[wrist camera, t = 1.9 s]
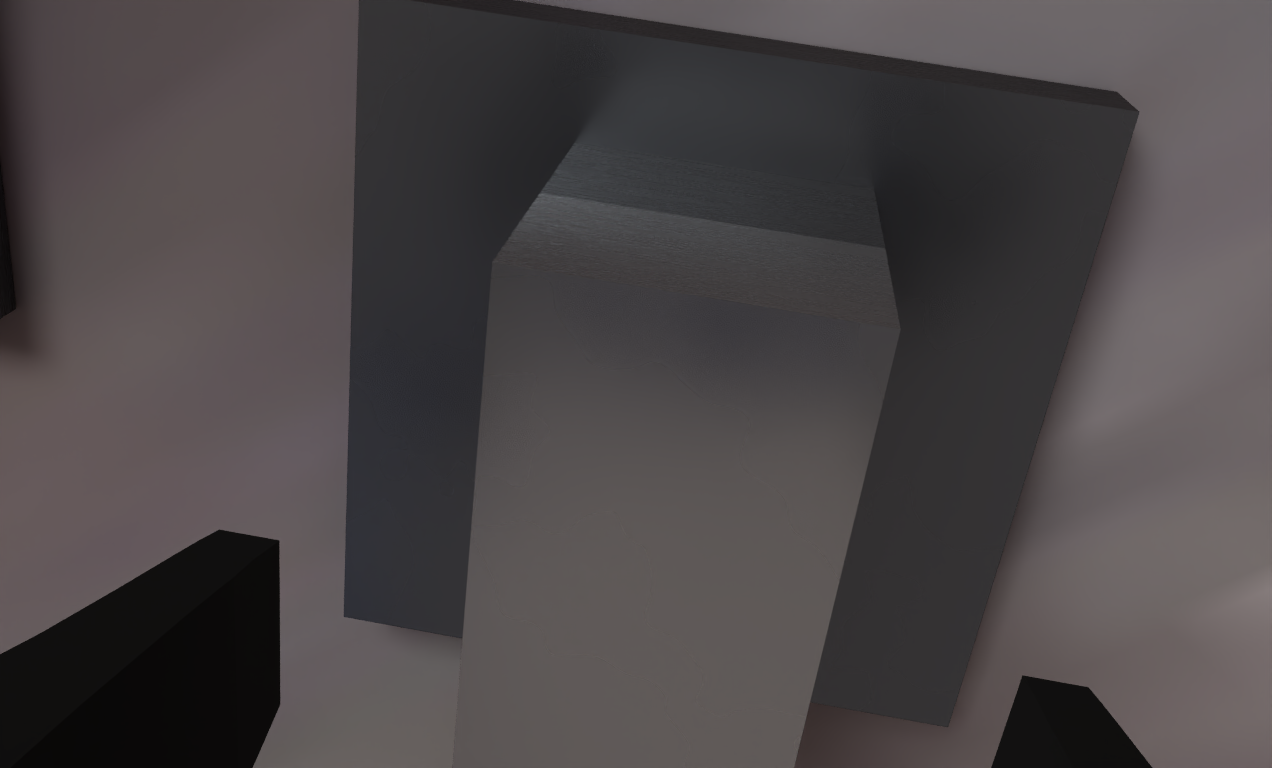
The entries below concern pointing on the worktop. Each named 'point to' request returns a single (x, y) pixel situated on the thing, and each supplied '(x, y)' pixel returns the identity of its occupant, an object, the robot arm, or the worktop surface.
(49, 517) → the worktop surface
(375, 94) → the stand
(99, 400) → the worktop surface
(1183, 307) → the worktop surface
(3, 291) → the stand
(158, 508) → the worktop surface
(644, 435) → the block
